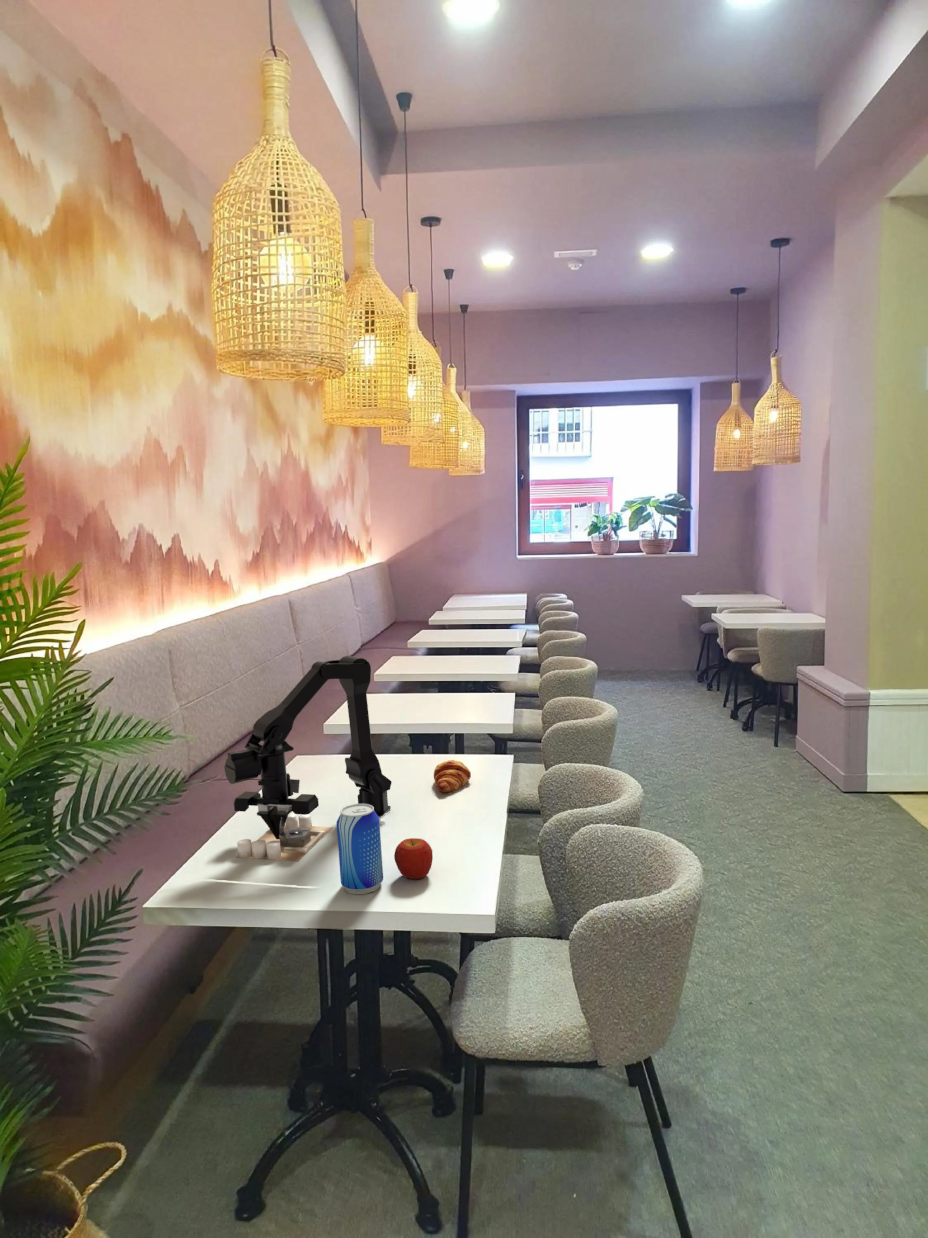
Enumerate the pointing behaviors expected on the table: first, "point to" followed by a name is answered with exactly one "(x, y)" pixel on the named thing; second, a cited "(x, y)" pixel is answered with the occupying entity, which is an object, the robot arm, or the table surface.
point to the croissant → (451, 775)
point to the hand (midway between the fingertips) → (278, 838)
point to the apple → (413, 858)
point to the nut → (295, 837)
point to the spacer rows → (272, 847)
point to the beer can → (359, 849)
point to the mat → (298, 852)
